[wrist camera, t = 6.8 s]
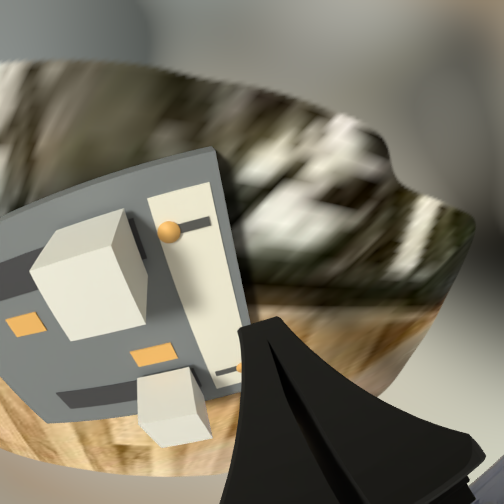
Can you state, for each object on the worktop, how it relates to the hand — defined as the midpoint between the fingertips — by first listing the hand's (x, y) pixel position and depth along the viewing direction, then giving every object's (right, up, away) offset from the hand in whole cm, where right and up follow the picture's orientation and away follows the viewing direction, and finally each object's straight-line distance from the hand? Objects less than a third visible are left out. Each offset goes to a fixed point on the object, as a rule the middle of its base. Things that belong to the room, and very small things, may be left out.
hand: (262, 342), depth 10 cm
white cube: (-6, -7, +11) cm, 15 cm away
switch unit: (-12, -2, +9) cm, 15 cm away
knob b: (-8, +3, +5) cm, 10 cm away
